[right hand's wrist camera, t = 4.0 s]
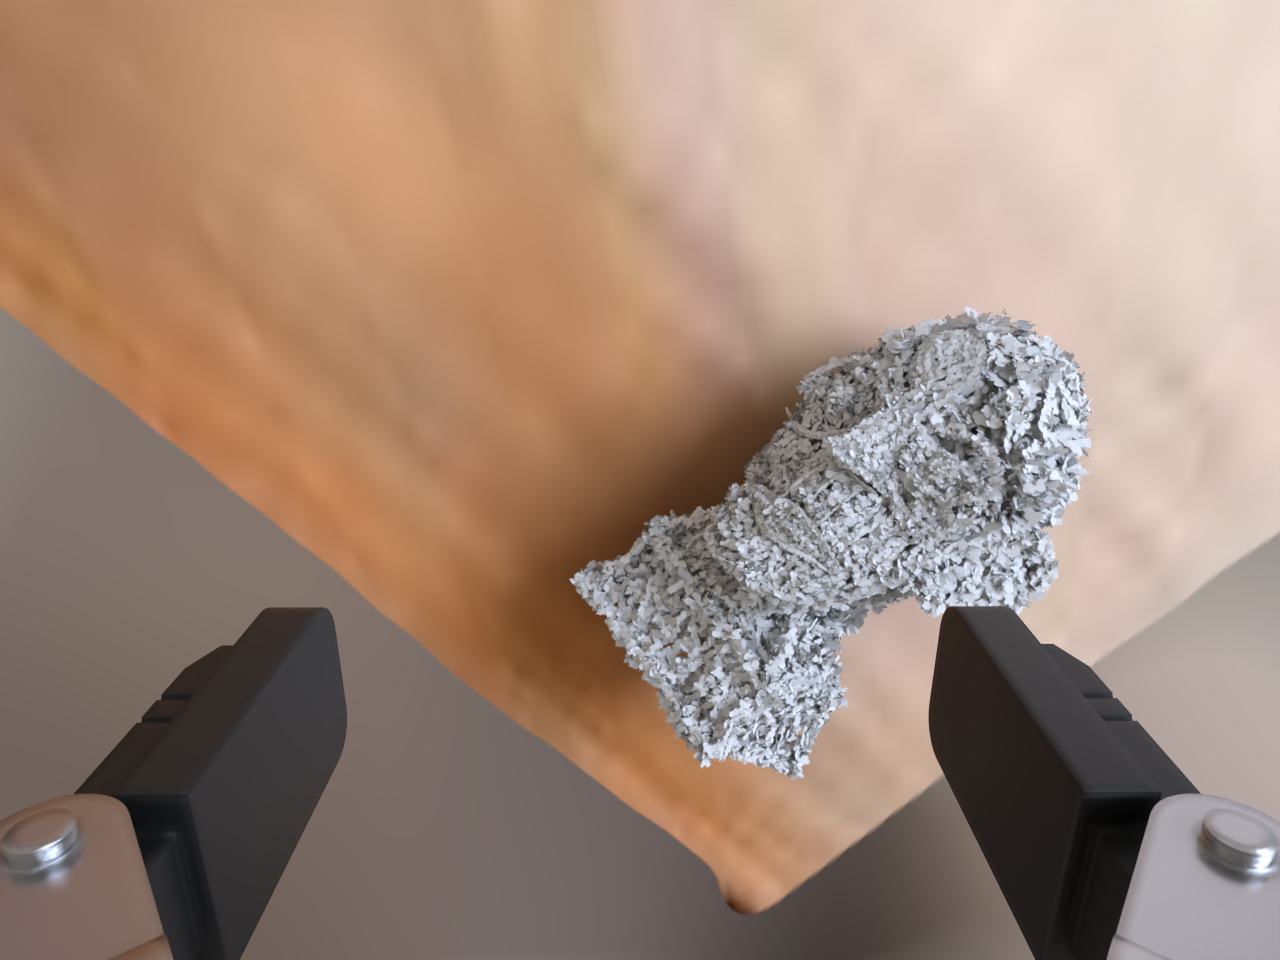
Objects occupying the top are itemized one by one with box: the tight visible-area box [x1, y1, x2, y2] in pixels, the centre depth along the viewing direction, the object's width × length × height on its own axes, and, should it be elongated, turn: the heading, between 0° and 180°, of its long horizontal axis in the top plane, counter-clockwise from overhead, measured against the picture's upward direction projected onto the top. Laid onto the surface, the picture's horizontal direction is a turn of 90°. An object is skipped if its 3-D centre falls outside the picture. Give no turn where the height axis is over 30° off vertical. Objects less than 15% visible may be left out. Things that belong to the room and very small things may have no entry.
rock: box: [569, 306, 1093, 780], centre depth 46 cm, size 17×17×28 cm
